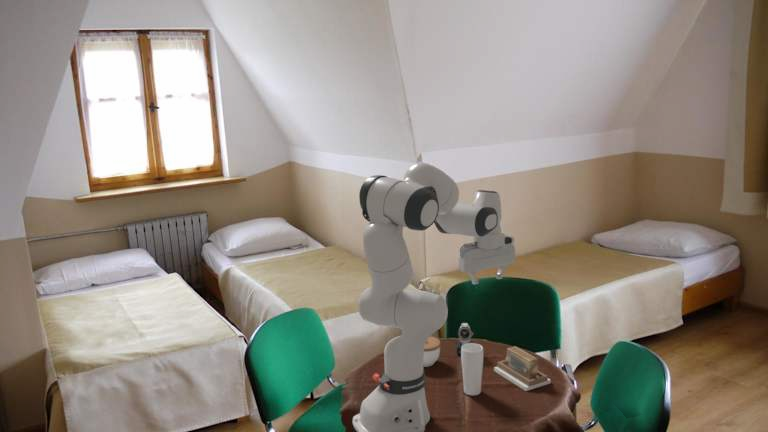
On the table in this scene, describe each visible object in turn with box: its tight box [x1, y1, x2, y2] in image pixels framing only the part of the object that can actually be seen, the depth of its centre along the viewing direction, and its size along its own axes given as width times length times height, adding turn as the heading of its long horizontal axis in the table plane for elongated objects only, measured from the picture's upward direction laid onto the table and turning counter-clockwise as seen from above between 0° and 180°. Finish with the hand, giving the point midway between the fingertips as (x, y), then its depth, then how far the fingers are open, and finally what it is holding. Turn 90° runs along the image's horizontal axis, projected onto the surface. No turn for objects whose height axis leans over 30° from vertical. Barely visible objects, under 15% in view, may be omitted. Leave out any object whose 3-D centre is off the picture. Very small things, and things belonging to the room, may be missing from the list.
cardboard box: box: [506, 345, 539, 380], centre depth 197 cm, size 4×11×7 cm, turn 28°
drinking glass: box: [460, 342, 484, 397], centre depth 188 cm, size 7×7×15 cm
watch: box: [456, 322, 474, 357], centre depth 216 cm, size 6×8×11 cm
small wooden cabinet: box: [493, 356, 552, 392], centre depth 198 cm, size 10×16×4 cm, turn 27°
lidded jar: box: [423, 335, 441, 368], centre depth 210 cm, size 11×11×9 cm
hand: (487, 281), depth 197 cm, fingers open, 8 cm apart
